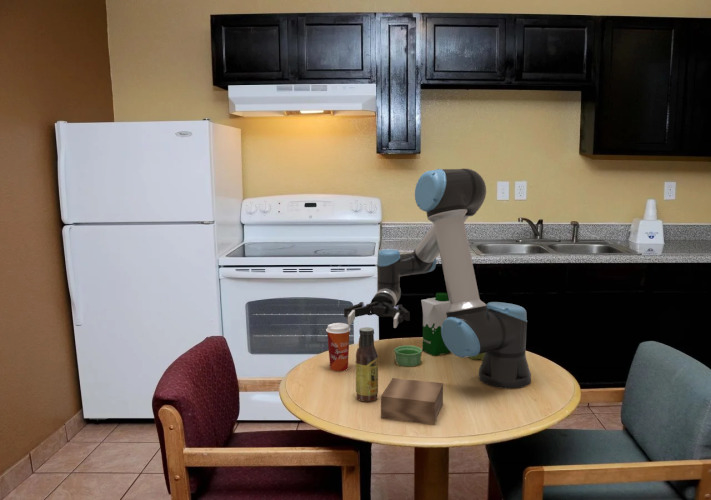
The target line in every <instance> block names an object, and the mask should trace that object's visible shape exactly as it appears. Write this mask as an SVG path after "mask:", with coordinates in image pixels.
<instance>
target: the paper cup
mask: <svg viewBox="0 0 711 500" xmlns="http://www.w3.org/2000/svg"><path fill="white" fill-rule="evenodd" d="M351 330H352V329H351V325H348V323H346V322H345V323H344V322H335V323H330V324H328V325H327V327H326V329H325V331H326V333H327V348H328V359H329V367H330V370H331V371H332V372H333V371H334V372H344V370H345V371H346V369H347V368H349V356H350V355H349V351H350V331H351ZM347 370H348V369H347Z"/></svg>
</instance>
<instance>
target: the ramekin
mask: <svg viewBox="0 0 711 500" xmlns="http://www.w3.org/2000/svg"><path fill="white" fill-rule="evenodd" d="M393 351H394V357H395V363H396V364H397V365H399V366H401V367H415V366H418V365H420V364H421V360H422V359H421V358H422V353H423V350H422V348H421V347H419V346H417V345H400V346H396V347H395V348H394V350H393Z"/></svg>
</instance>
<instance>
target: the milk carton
mask: <svg viewBox="0 0 711 500" xmlns="http://www.w3.org/2000/svg"><path fill="white" fill-rule="evenodd" d="M420 301H421V307H422V343H421V344H422V348H421V349H422V352H425V353H427V354H429V355H431V356H433V357H435V356H440V355H444V354H445V355H446V354H448V353H452V352H451V351H449V350H448V348H447V347H446V345H445V343H444V341H443V339H442V335H441V327H442V323H443V322H444V320H446V319H447V315H446V311H447V309H448V308H449V306H450V303H449V298H448V292H436V293H435V297H431V298H430V297H428V298H426V299H421V300H420Z"/></svg>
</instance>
